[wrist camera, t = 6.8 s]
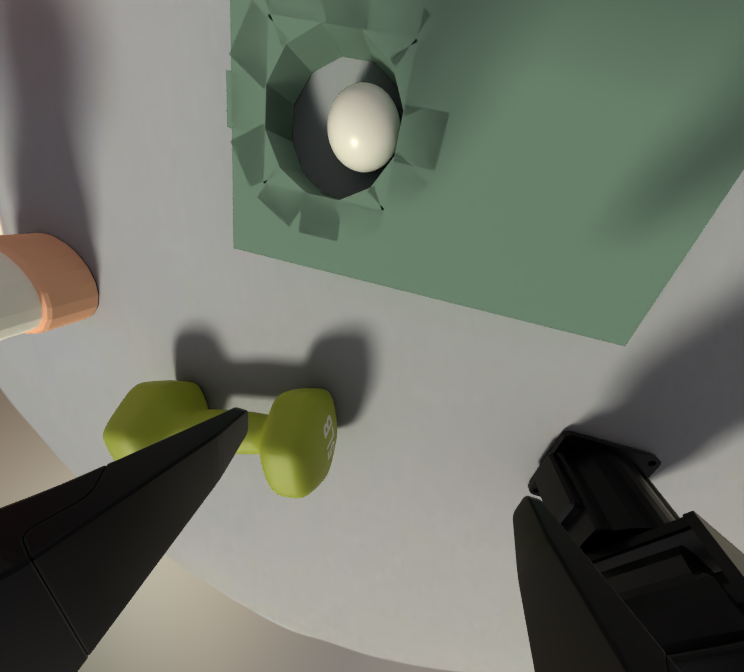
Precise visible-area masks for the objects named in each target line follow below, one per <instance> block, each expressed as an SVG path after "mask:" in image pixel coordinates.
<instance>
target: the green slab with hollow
mask: <svg viewBox="0 0 744 672" xmlns="http://www.w3.org/2000/svg"><path fill="white" fill-rule="evenodd" d="M230 17H231V51H230V53H229V55H230V56H231V71H229V70H226V81H227V127H229V128H232V140H231V143H232V164H233V237H234V248H235V249H239V250H243V251H247V252H251V253H255V254H259V255H263V256H267V257H271V258H275V259H279V260H283V261H287V262H291V263H295V264H299V265H303V266H307V267H311V268H315V269H319V270H323V271H327V272H331V273H335V274H339V275H342V276H346V277H350V278H354V279H358V280H362V281H366V282H370V283H374V284H378V285H382V286H386V287H390V288H394V289H398V290H402V291H406V292H410V293H414V294H418V295H422V296H426V297H430V298H434V299H438V300H442V301H446V302H450V303H454V304H458V305H462V306H466V307H470V308H474V309H478V310H482V311H486V312H490V313H494V314H498V315H502V316H506V317H510V318H514V319H518V320H522V321H526V322H530V323H534V324H538V325H542V326H546V327H550V328H554V329H558V330H562V331H566V332H570V333H574V334H578V335H582V336H586V337H590V338H594V339H598V340H602V341H606V342H610V343H614V344H618V345H622V346H626V344H627V343H628V341H629V340H630V338H631V337H632V335H633V334H634V332H635V331H636V329H637V328H638V326H639V325H640V323H641V322H642V320H643V319H644V317H645V316H646V314H647V313H648V311H649V310H650V308H651V307H652V305H653V304H654V302H655V301H656V299H657V298H658V296H659V295H660V293H661V292H662V290H663V289H664V287H665V286H666V284H667V283H668V281H669V280H670V278H671V277H672V275H673V274H674V272H675V271H676V269H677V268H678V266H679V265H680V263H681V262H682V260H683V259H684V257H685V256H686V254H687V253H688V251H689V250H690V248H691V247H692V246H693V244H694V243H695V241H696V240H697V238H698V237H699V235H700V234H701V232H702V231H703V229H704V228H705V226H706V225H707V223H708V222H709V220H710V219H711V217H712V216H713V214H714V213H715V211H716V210H717V208H718V207H719V205H720V204H721V202H722V201H723V199H724V198H725V196H726V195H727V193H728V192H729V190H730V189H731V187H732V186H733V184H734V183H735V181H736V180H737V178H738V177H739V175H740V174H741V172H742V171H743V169H744V0H230ZM341 56H343V57H349V58H354V59H360V60H365V61H371V62H375V63H376V64H377V65H378V66H379V67H380V69H381V70H382V71H383V72H384V73H385V74H386V75H387V76H388V77H389V78H390V79H391V80H392V82H393V83H394V84H395V85H396V86H397V87H398V90H399V94H400V98H401V103H402V107H403V115H402V120H401V125H400V130H399V135H398V140H397V145H396V150H395V155H394V157H393V159H392V160H391V161H390V162H389V164H388V165H387V166H386V168H385V169H384V170H383V172H382V173H381V174H380V176H379V177H378V178H377V180H376V181H375V182H374V183H373V185H372V186H371V187H370V188H368V189H366V190H363V191H361V192H358V193H356V194H353V195H351V196H348V197H346V198H343V199H340V198H336V197H331V196H327V195H325V194H324V193H323V192H322V191H321V190H320V189H319V188H318V187H317V186H316V185H315V184H314V183H313V182H312V181H310V180H309V179H308V178H307V177H306V176H305V175H304V173H303V171H302V168H301V165H300V162H299V160H298V157H297V154H296V151H295V148H294V146H293V143H292V134H293V119H294V105H295V103H296V101H297V99H298V97H299V96H300V94H301V92H302V90H303V88H304V86H305V85H306V83H307V81H308V79H309V77H310V76H311V74H312V73H313V72H314V71H316V70H318V69H320V68H322V67H323V66H325V65H327V64H329V63H330V62H332V61H334V60H336V59H338V58H339V57H341Z"/></svg>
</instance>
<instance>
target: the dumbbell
mask: <svg viewBox="0 0 744 672" xmlns="http://www.w3.org/2000/svg"><path fill="white" fill-rule="evenodd" d="M226 411H228V410H221V409H209V410H208V406H207V403H206V400H205V397H204V395H203V393H202V391H201V389H200V387H199V386H198V385H197V384H195V383H193V382H187V381H172V380H167V381H151V382H144V383H140V384H138V385H136V386H135V387H134V388H132V389H131V390H130V391H129V393H128V394H127V395H126V396H125V398H124V399H123V401H122V402H121V403H120V405H119V406H118V408H117V409H116V411H115V412H114V414H113V415H112V417H111V418H110V420H109V422H108V423H107V425H106V427H105V429H104V433H103V438H104V442H105V444H106V446H107V448H108V450H109V452H110V454H111V456H112V457H113V459H114V461H116V460H118V459H120V458H123V457H125V456H127V455H129V454H132V453H134V452H136V451H138V450H141V449H143V448H145V447H147V446H149V445H152V444H154V443H156V442H158V441H161V440H163V439H165V438H167V437H170V436H172V435H174V434H176V433H179V432H181V431H183V430H185V429H188V428H190V427H192V426H194V425H197V424H199V423H201V422H203V421H206V420H208V419H210V418H212V417H215V416H217V415H219V414H221V413H223V412H226ZM336 438H337V419H336V412H335V406H334V401H333V399H332V396H331V394H330V393H329V392H328V391H327V390H325V389H320V388H300V389H293V390H289V391H286V392H283V393H281V394H280V395H279V396H278V397H277V398H276V400H275V401H274V403H273V405H272V407H271V410H270V413H269V415H267V414H261V413H256V412H248V432H247V435H246V437H245V438H244V440H243V442H242V443H241V445H240V447H239V448H238V450H237V452H236V453H237V454H260V458H261V464H262V468H263V471H264V474H265V477H266V479H267V482H268V484H269V485H270V487H271V489H272V490H273V491H274V492H275V493H277V494H278V495H281V496H285V497H291V498H303V497H305V496H307V495H309V494H310V493H311V492H312V491H313V490H314V489H316V488H317V487H318V486H319V484H320V483H321V482H322V481H323V480H324V479H325V477H326V475H327V474H328V471H329V469H330V466H331V462H332V458H333V454H334V449H335V444H336Z"/></svg>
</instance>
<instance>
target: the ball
mask: <svg viewBox="0 0 744 672" xmlns="http://www.w3.org/2000/svg"><path fill="white" fill-rule="evenodd" d="M399 130H400V118H399V114H398V111H397V108H396V106H395V104H394V102H393V100H392V99H391V97H390V96H389V95H388V94H387V93H386V92H385V91H384V90H383V89H382V88H380V87H379V86H377V85H374V84H371V83H366V82H361V83H355V84H352V85H350V86H348V87H346V88H345V89H344V90H342V91H341V92H340V93H339V94H338V96H337V97H336V98H335V100H334V102H333V104H332V106H331V108H330V111H329V115H328V122H327V131H328V138H329V142H330V145H331V148H332V150H333V152H334V154H335V155H336V157H337V158H338V159H339V160H340V161H341V162H342V163H343V164H344V165H345V166H347V167H348V168H350V169H352V170H354V171H358V172H371V171H375V170H377V169H379V168H381V167H382V166H384V165H385V164H386V163H387V162H388V161H389V160H390V159H391V157H392V156H393V154H394V152H395V150H396V145H397V140H398V135H399Z"/></svg>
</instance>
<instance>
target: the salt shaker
mask: <svg viewBox="0 0 744 672" xmlns="http://www.w3.org/2000/svg"><path fill="white" fill-rule="evenodd" d="M98 296H99V295H98V291H97V287H96V283H95V280H94V278H93V276H92V274H91V272H90V270H89V268H88V267H87V266H86V264H85V263H84V262H83V260H82V259H81V258H80V256H79V255H78V254H77V253H76V252H75V251H74V250H72V249H71V248H70V247H69V246H68V245H67V244H66V243H64V242H62V241H61V240H59V239H57V238H55V237H54V236H51V235H47V234H43V233H29V234H13V235H0V340H3V339H6V338H9V337H12V336H15V335H18V334H21V333H28V334H32V333H43V332H46V331H49V330H52V329H55V328H58V327H61V326H64V325H68V324H71V323H74V322H77V321H80V320H83V319H86V318H88V317H90V316H91V315H93V314H94V312H95V310H96V309H97V307H98Z"/></svg>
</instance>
